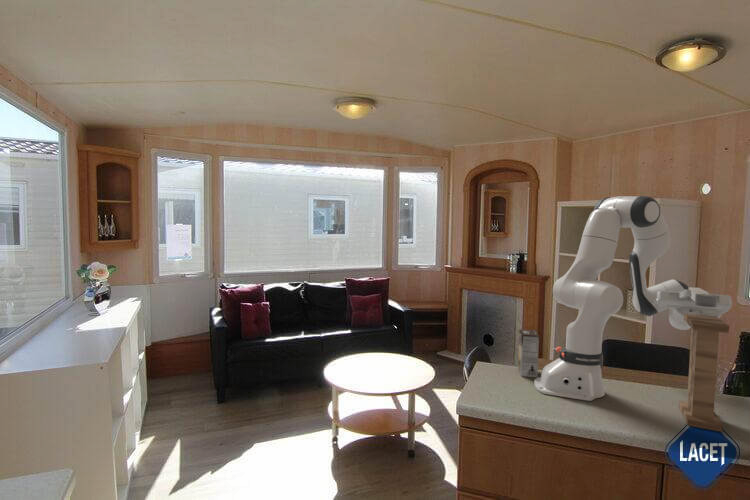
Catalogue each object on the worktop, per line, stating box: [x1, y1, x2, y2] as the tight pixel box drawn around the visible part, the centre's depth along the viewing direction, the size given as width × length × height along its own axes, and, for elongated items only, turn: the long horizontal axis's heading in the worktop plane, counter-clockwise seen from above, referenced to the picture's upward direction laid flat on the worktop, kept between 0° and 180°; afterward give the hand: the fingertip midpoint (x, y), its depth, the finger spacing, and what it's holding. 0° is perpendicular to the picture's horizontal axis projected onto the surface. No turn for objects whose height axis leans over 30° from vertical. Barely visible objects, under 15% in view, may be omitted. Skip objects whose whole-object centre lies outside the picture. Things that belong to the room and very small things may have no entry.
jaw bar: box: [688, 286, 717, 307], centre depth 133 cm, size 20×5×3 cm, turn 153°
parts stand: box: [678, 314, 730, 433], centre depth 127 cm, size 14×8×30 cm, turn 153°
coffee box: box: [517, 328, 540, 378], centre depth 165 cm, size 9×6×16 cm
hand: (696, 292), depth 138 cm, fingers closed on jaw bar, 3 cm apart
